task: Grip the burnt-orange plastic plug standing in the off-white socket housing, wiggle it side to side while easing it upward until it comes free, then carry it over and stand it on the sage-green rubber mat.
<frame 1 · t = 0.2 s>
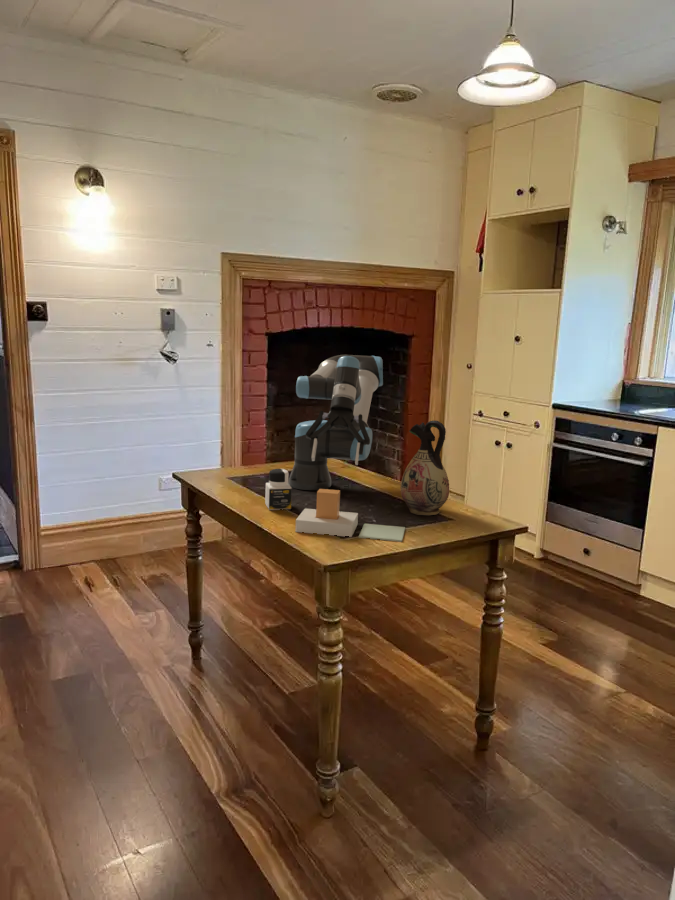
hand: (334, 461, 212), 16 cm above the table, tool tilted 35°, fingers open, 13 cm apart
plug: (327, 509, 196), in the socket housing
mat: (382, 533, 195), on the table
medicine bottle: (278, 507, 217), on the table
socket housing: (327, 528, 197), on the table
ceramic jug: (425, 513, 217), on the table
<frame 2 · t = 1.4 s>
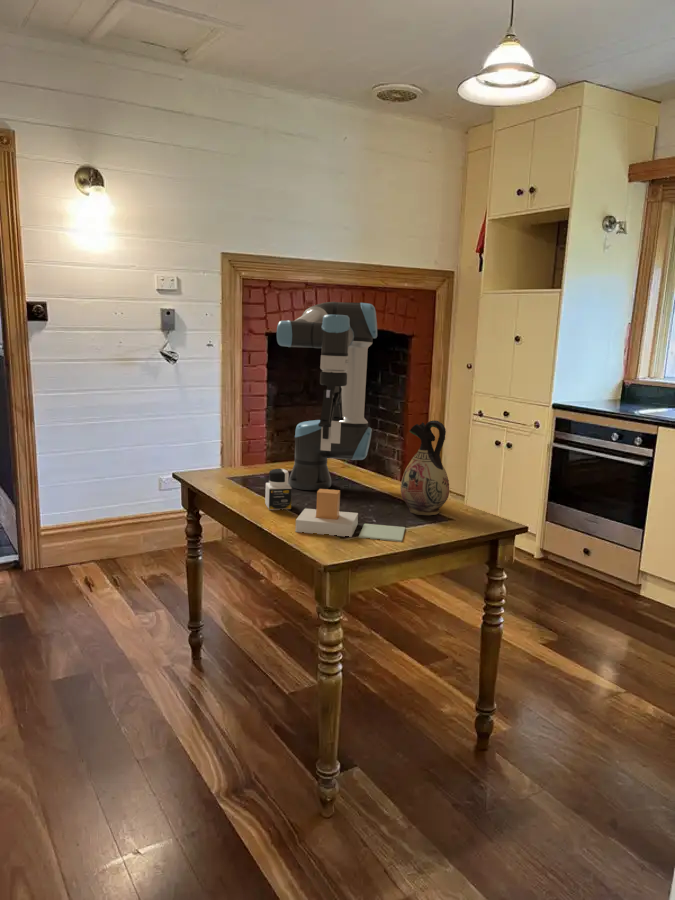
hand: (330, 446, 193), 24 cm above the table, tool pointing down, fingers open, 13 cm apart
nothing on the table moved.
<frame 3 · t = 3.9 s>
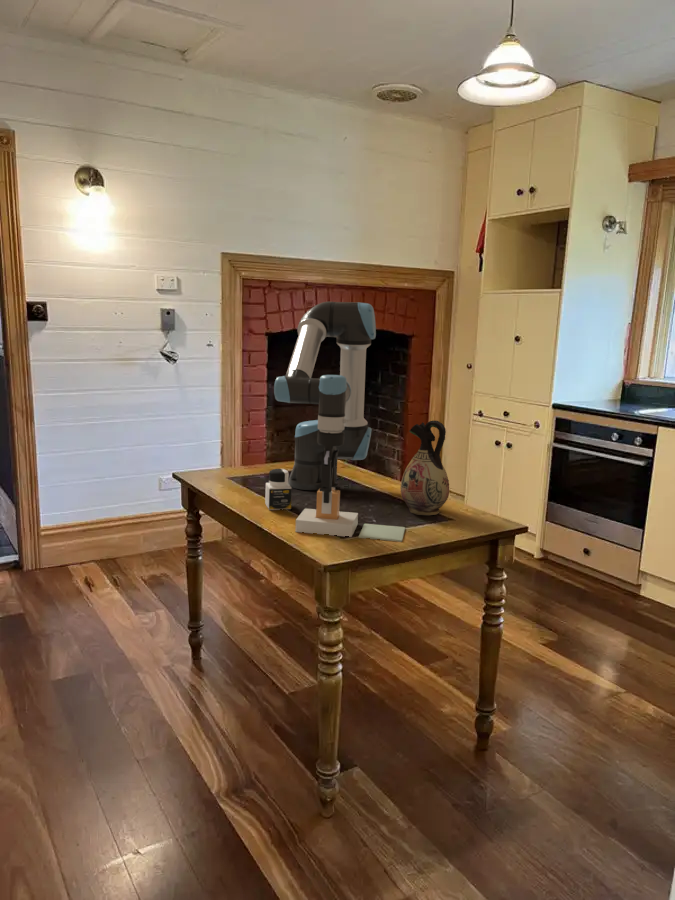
hand: (327, 510, 196), 5 cm above the table, tool pointing down, fingers closed on plug, 4 cm apart
plug: (327, 509, 196), in the socket housing, touching gripper
everything else where it was.
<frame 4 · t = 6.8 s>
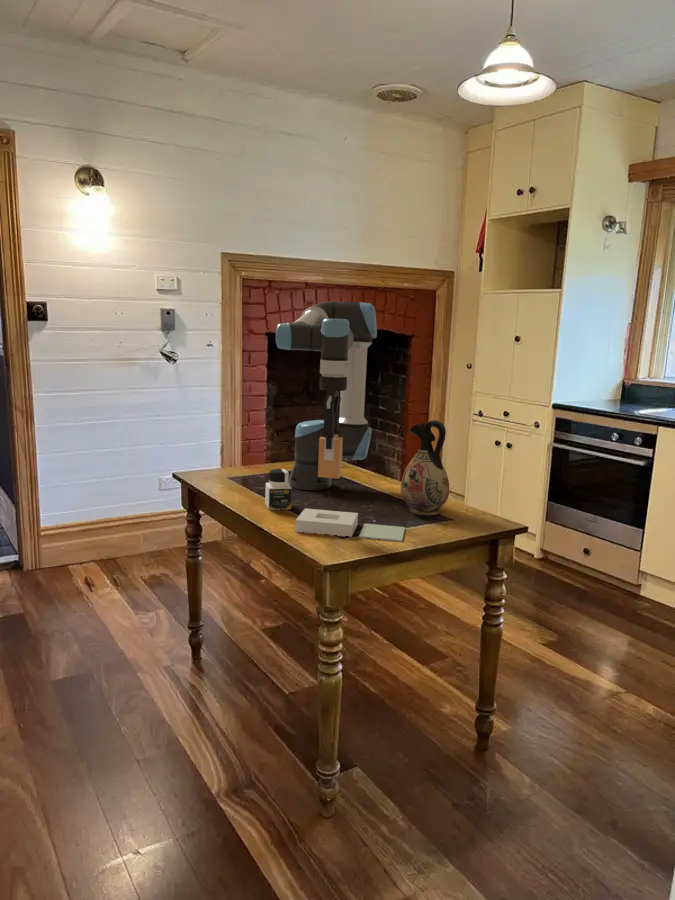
hand: (330, 458, 193), 21 cm above the table, tool pointing down, fingers closed on plug, 4 cm apart
plug: (330, 457, 193), point 21 cm above the table, touching gripper
everything else where it was.
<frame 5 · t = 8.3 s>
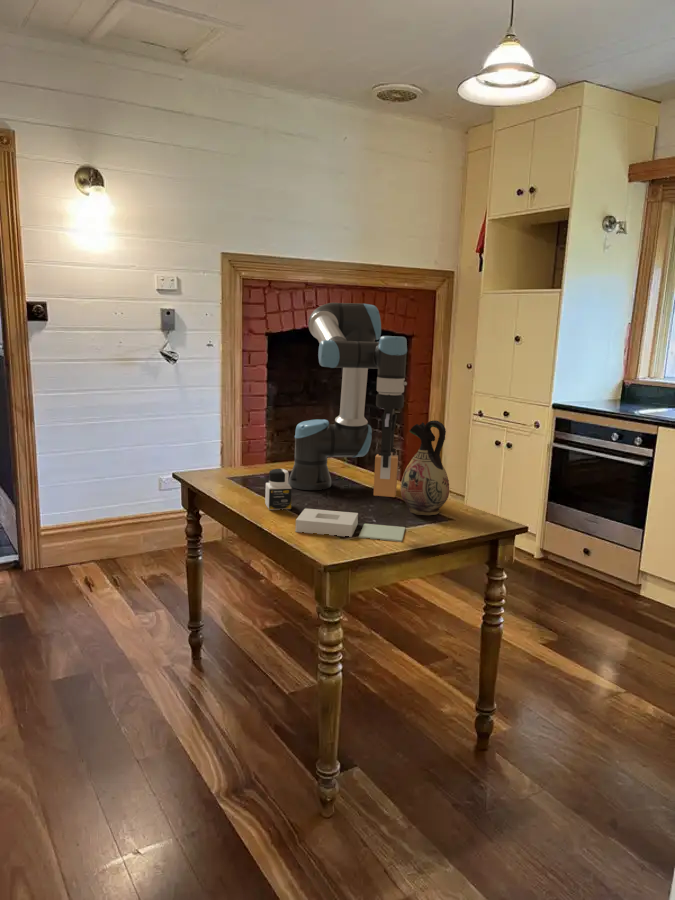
hand: (385, 476, 191), 17 cm above the table, tool pointing down, fingers closed on plug, 4 cm apart
plug: (385, 475, 191), point 17 cm above the table, touching gripper
everything else where it was.
when the fingers open (6 cm above the table, at t = 9.8 s): plug stays where it is, resting on mat.
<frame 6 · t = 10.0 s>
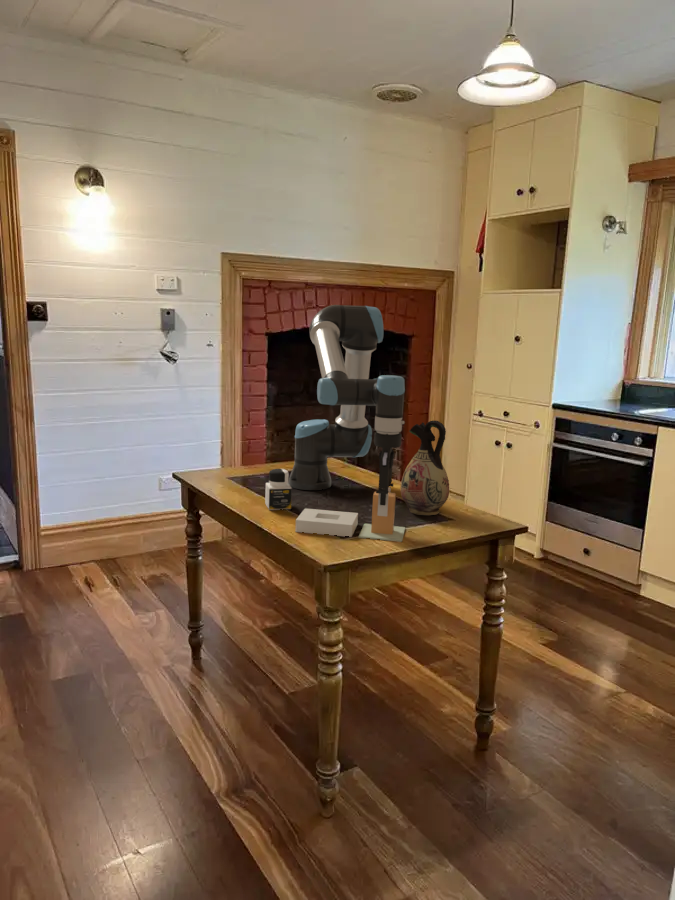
hand: (383, 512, 193), 6 cm above the table, tool pointing down, fingers open, 6 cm apart
plug: (383, 512, 194), on the mat
everything else where it was.
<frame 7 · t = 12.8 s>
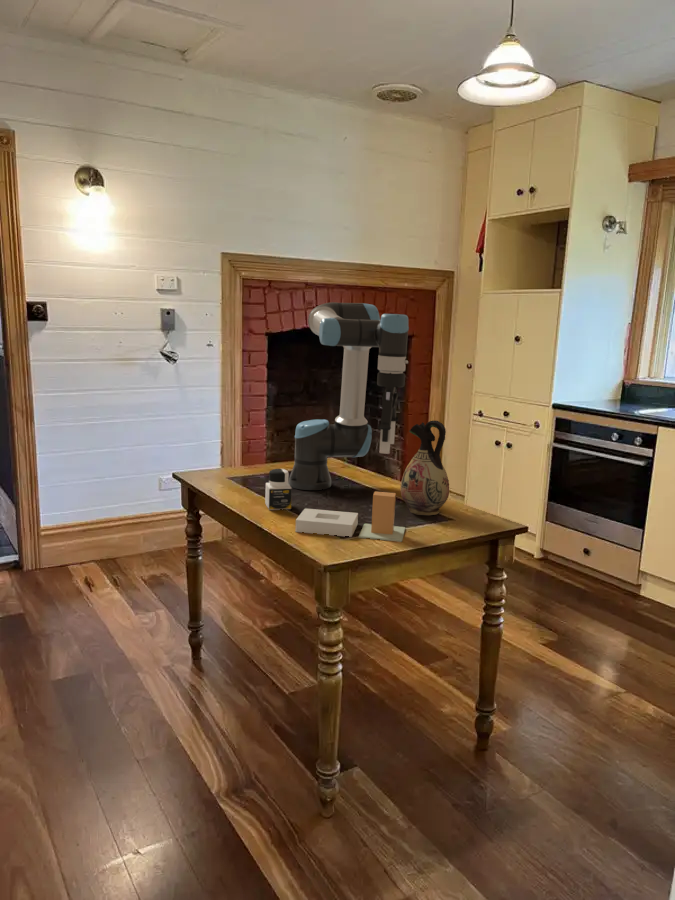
hand: (386, 448, 190), 25 cm above the table, tool pointing down, fingers open, 13 cm apart
nothing on the table moved.
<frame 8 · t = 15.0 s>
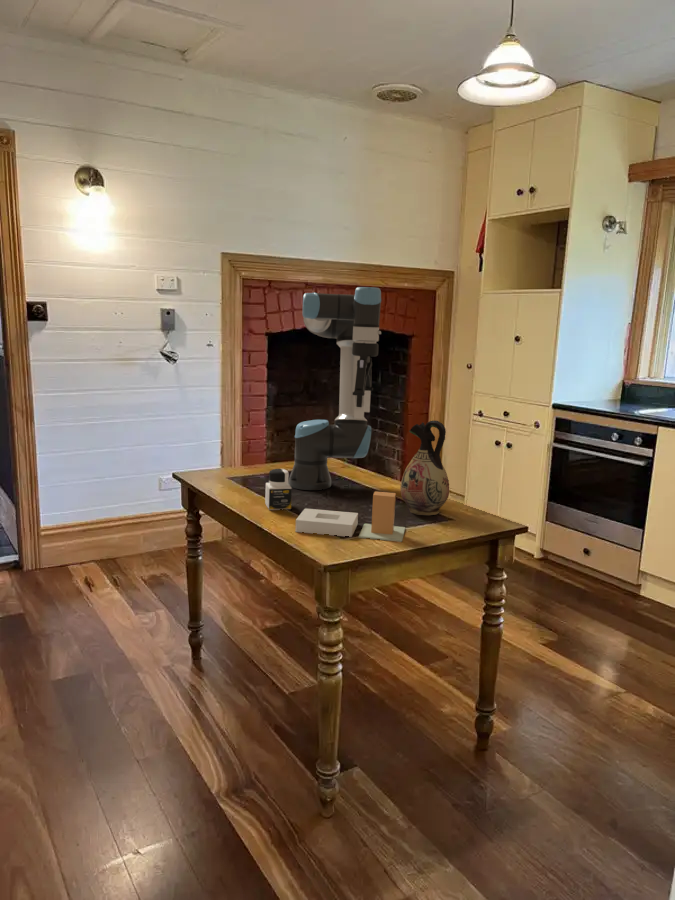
hand: (362, 415, 202), 32 cm above the table, tool pointing down, fingers open, 13 cm apart
nothing on the table moved.
at the end: plug inside the target area on the mat (0.1 cm from its centre), point 6.0 cm above the mat's base; plug tilted 0°; plug touching mat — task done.
